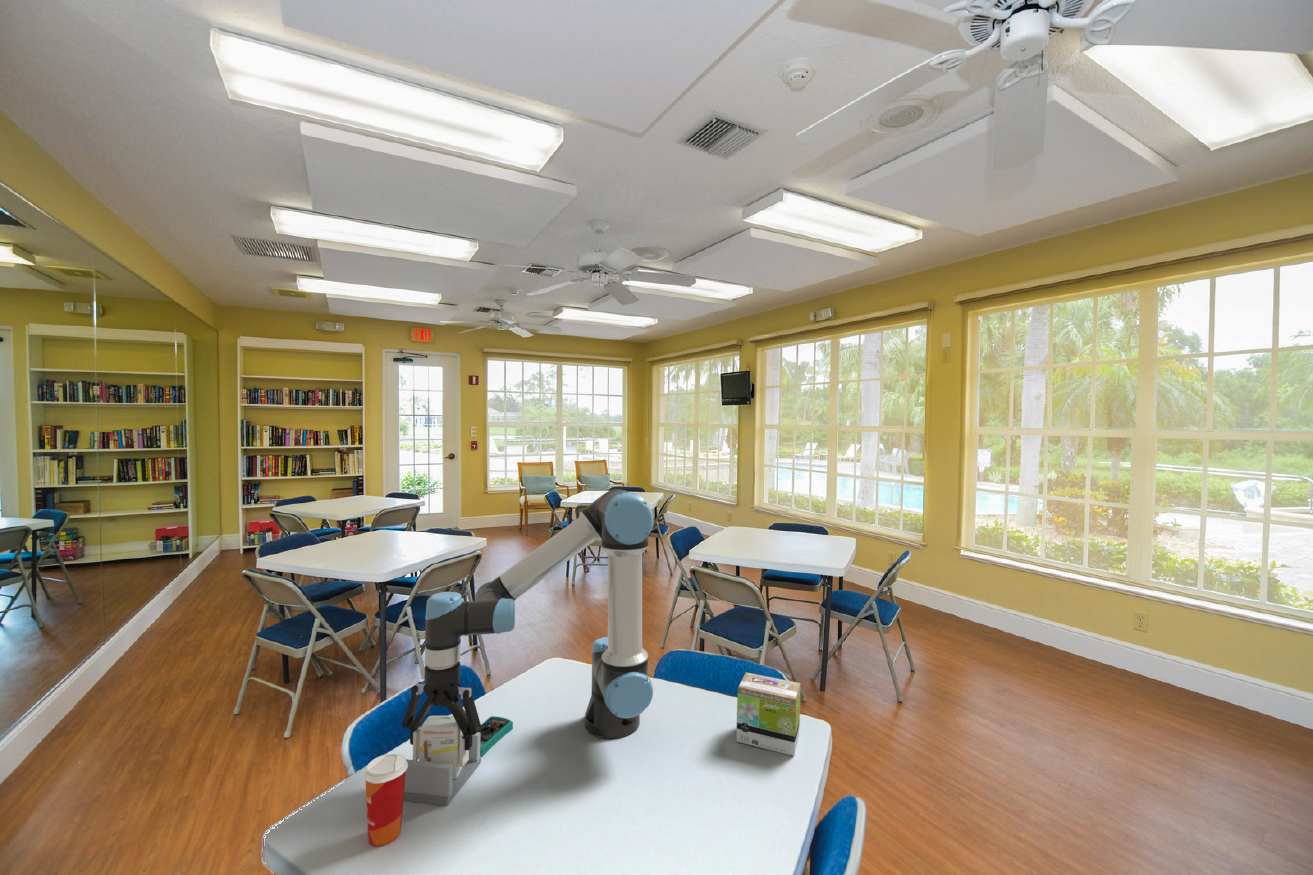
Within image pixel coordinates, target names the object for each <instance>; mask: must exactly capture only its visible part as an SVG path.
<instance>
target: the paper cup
mask: <svg viewBox="0 0 1313 875" xmlns="http://www.w3.org/2000/svg"><path fill="white" fill-rule="evenodd" d="M407 767H408V763H407V761H406V757H405V755H403V754H401V753H398V754H396V753H390V754H387V753H385V754H382V755H380V756H377V757H375V758H374V759H372V760H371V761H370V762H369V763H368V764H367V765H366V768H365V771H364V772H363V780H365V796H366V797H365V799H366V821H367V822H366V824H367V825H366V826H367V838H368V843H369V844H370V846H372V847H384V846H386V845H390V844H391V843H393V842H394V841H395V840H396V839H398V837H399V836H400V835H401V831H402V830H401V829H402V821H403V820H402V819H403V810H404V801H403V799H404V787H405V774H406V770H407Z"/></svg>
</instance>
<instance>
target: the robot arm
mask: <svg viewBox="0 0 1313 875" xmlns="http://www.w3.org/2000/svg"><path fill="white" fill-rule="evenodd" d="M654 520H655V519H654V514H653V510H652V508H651V506H650V504H649V503H648V502H647V501H646V500H645V499H644V498H643V497H642V496H640V495H639V494H637V493H634V492H630V491H628V490H626V489H620V488H615V489H612V490H609V491H606V492H604V493H603V494H602V495H600V496H599V497H598V498H596V499H595V500H594V501H593V502H591V503H590V504H589V505H588V506H586V507H585V508H584V509H582V510H581V511H580V512H579V516H578V518H576V519H575V520H573V521H572V522H571V523H570V524H568V525H567V526H565V527H564V528H563V529H561V530H560V531H559V532H557V533H556V534H555V535H553V536H551V538H549V539H548V540H546V541H545V542H544V543H542V544H541V545H540V546H539V547H537V548H535V549H534V550H533V551H531V552H530V553H528V554H527V555H526V556H525V557H523V558H522V559H520V560H519V561H517V562H516V563H515V564H513V565H512V566H511V567H510V568H508V569H506V571H504V572H502V574H500V575H499V576H498V577H496V578H495V579H493V580H491V581H490V580H489V581H485V582H484V583H483V584H481V585H480V586H479V588H478V590H477V591H476V593H475V596H474V600H472V601H470V600H469V601H468V600H467V601H466V600H464V601H463V598H462V594H461V593H459V592H456V591H443V592H442V591H441V592H437V593H434V594H432V595H430V596H429V597H428V599H427V600H426V608H425V617H424V620H425V625H424V628H425V629H424V630H425V631H424V632H425V633H424V634H425V637H424V638H425V639H424V640H425V641H424V665H425V666H424V674H423V675H424V679H423V681H424V683H422V682H421V681H417V683H415V684H414V685H413V686H412V687H411V688H410V698H409V701H408V705H407V708H406V711H405V714H404V717H403V720H402V723H401V727H402V728H403V729H408V730H409V743H410V745H412V760H417V761H419V748H420V727H421V726H422V725H421V724H422V722H423V721H424V720H425V717H426V716H427V714H428V713H429V712H430V710H431V708H432V706H434V707H438V706H440V707H444V708H447V710H448V712H451V716H454V718H455V720H456V722H457V724H458V726H459V728H460V730H461V731H462V733H463V735H462V736H461V737H460V766H459V767H463V766H464V765H465V764H466V762H467V761H468V760H469V749H470V748H471V747H472V740H473V735H475V734H476V733H477V732H478V731H479V730H480V729H481V724H482V723H481V721H480V717H479V713H478V709H477V707H476V702H475V700H474V688H473V686H472V685H470V686H468V687H464V686H463V687H462V686H461V684H460V678H461V662H460V660H461V644H462V643H461V640H462V639H461V638H462V637H466V636H475V635H476V636H479V635H490V634H492V635H493V634H496V635H497V634H498V635H499V634H502V633H509V632H513V630H514V629H515V625H516V623H515V622H516V604H515V602H516V600H518V599H519V598H520V597H521V596H522V595H524V594H525V593H527V592H528V591H529V590H530V589H532V588H533V587H535V586H536V585H538V584H539V583H541V582H542V581H543V580H544V579H546V578H547V577H548V576H549V575H551V574H552V573H553V572H555V571H556V570H558V569H559V568H560V567H562V566H563V565H564V564H566V563H567V562H568V561H570V560H571V559H573V558H574V557H575V556H576V555H578V554H579V553H580V552H582V551H583V550H585V549H586V548H587V547H588V546H590V545H591V544H593V543H594V542H595V541H600V542H601V548H602V549H603V550H604V551H605V552H606V553H607V636H603V637H600V638H598V639H595V640H594V641H593V643H592V650H591V695H590V698H589V700H588V704H587V707H586V710H585V713H584V728H585V730H586V731H587V732H588V733H590V734H591V735H593V736H595V737H599V738H604V739H618V738H619V739H620V738H622V737H626V736H629V735H631V734H633V733H634V732H635V731H637V730H638V728H639V727H640V721H641V719H640V718H641V714H643V713H644V711H645V710H646V709H648V707H649V706H650V704H651V702H652V700H653V697H654V687H653V682H652V680H651V678H649V654H648V652H647V651H646V650H645V648H643V553H644V552H645V551H646V550H647V549H648V548H649V534H650V533H651V532H652V530H653V527H654ZM423 693H424V695H425V696H426V697H427V698H426V699H425V701H424V703H423V704H422V706H421V708H420V710H419V712H418V714H417V715H416V712H417V709H418V707H419V703H420V701H421V697H422V694H423ZM459 695H460V696H459ZM461 700H462V704H461ZM462 705H463V706H462ZM415 715H416V716H415ZM420 725H421V726H420Z"/></svg>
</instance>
